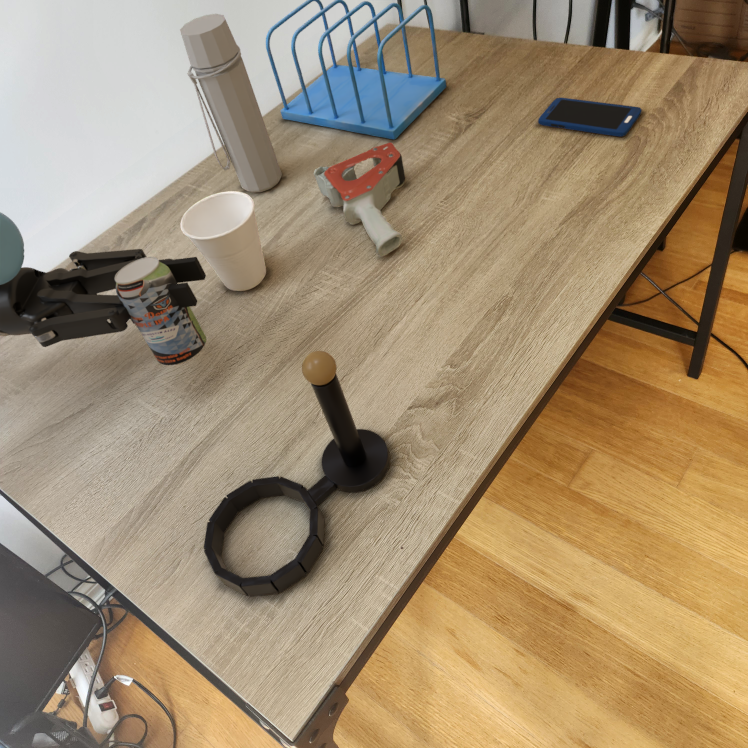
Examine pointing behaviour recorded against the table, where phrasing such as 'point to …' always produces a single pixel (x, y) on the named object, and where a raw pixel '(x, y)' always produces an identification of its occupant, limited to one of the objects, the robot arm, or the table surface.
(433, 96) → the file sorter
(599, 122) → the cell phone
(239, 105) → the water bottle
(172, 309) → the beverage can
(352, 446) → the can holder
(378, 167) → the tape dispenser
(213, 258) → the cup
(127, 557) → the table surface
